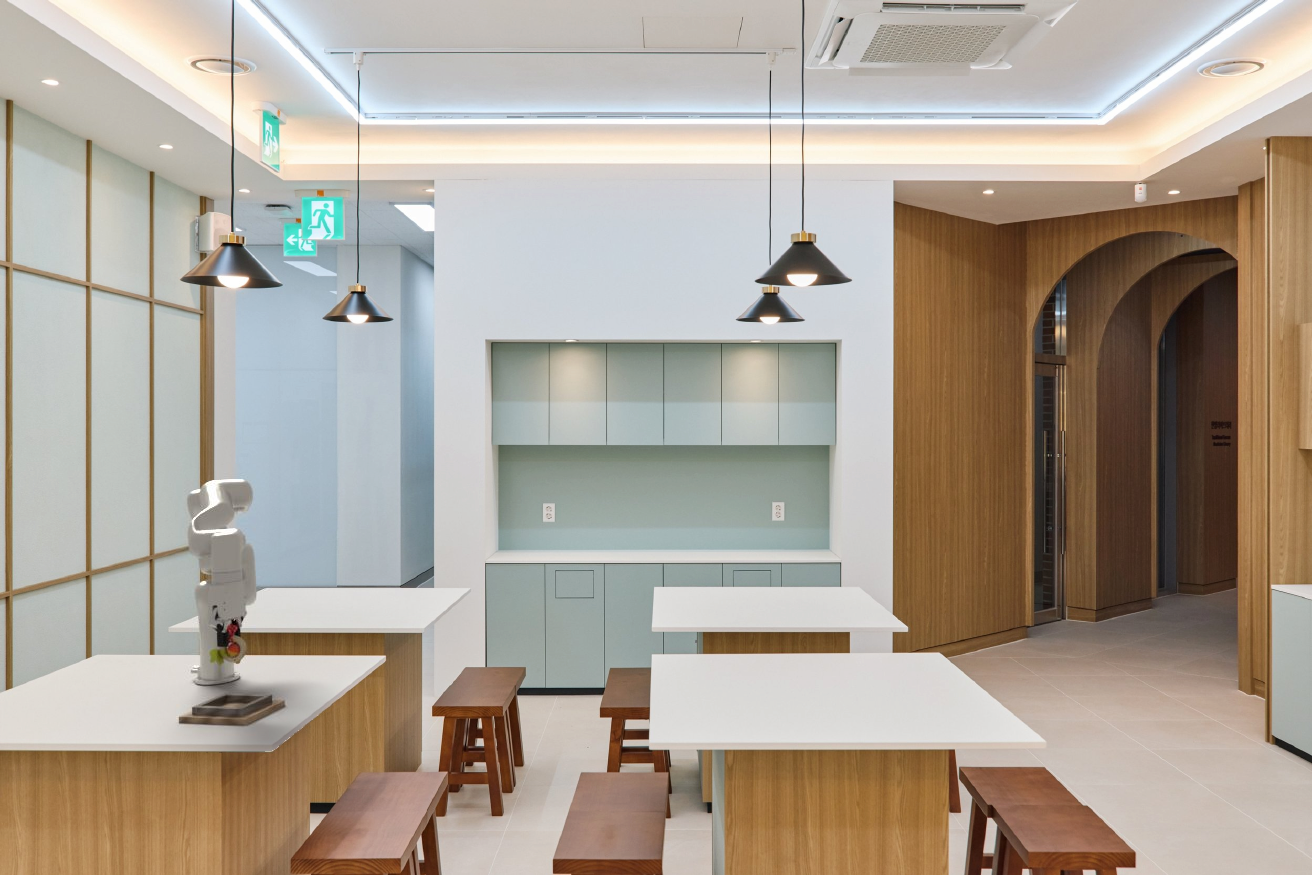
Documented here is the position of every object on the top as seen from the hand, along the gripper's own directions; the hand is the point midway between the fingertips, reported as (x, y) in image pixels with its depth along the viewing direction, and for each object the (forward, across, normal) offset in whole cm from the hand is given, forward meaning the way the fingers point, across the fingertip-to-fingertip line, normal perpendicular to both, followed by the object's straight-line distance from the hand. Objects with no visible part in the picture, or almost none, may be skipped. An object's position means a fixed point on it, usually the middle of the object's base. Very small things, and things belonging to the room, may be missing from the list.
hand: (229, 643), depth 246 cm
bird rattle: (+6, 0, 0) cm, 6 cm away
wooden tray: (+19, 0, 0) cm, 19 cm away
